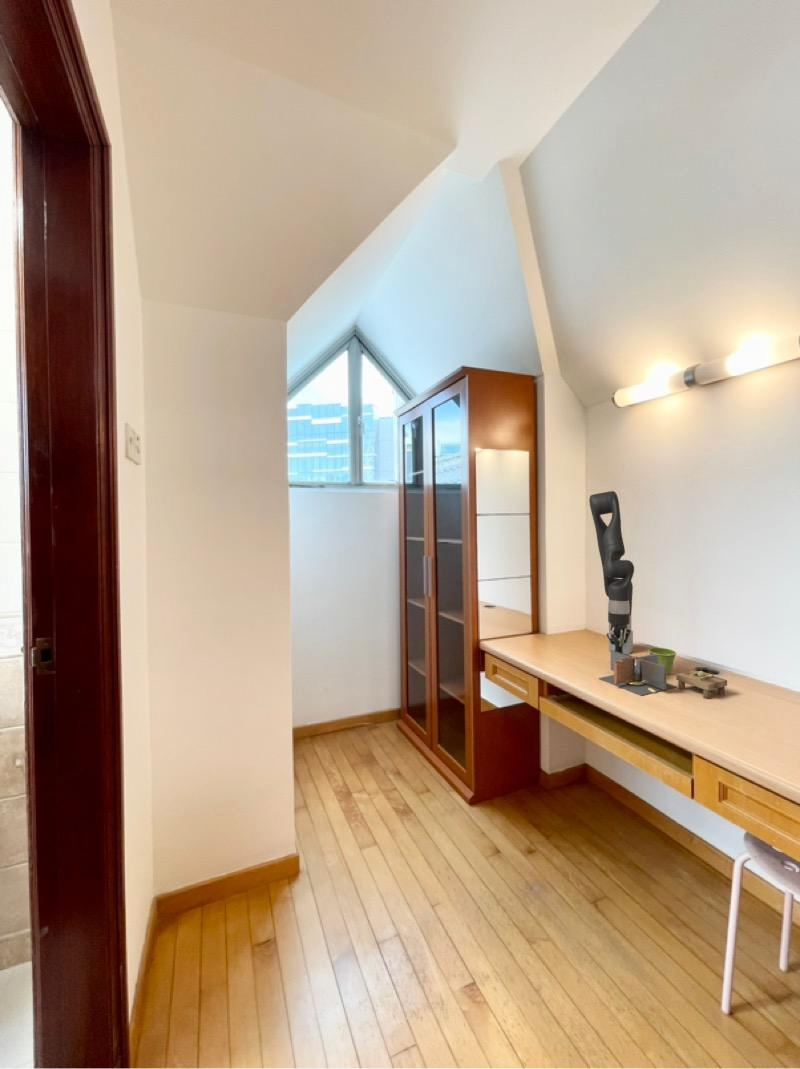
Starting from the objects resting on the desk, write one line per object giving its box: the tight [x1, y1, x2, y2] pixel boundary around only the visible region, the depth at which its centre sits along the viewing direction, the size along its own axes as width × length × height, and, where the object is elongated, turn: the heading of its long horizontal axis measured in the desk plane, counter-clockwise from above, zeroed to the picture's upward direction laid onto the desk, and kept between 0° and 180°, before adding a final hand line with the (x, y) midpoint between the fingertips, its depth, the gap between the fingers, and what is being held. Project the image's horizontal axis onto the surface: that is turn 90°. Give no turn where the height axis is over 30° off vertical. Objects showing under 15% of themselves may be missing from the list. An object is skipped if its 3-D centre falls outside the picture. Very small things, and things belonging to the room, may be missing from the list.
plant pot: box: [648, 647, 678, 676], centre depth 171 cm, size 9×9×9 cm
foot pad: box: [598, 674, 678, 697], centre depth 161 cm, size 18×19×1 cm
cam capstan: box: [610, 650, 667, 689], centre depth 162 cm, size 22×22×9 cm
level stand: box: [675, 670, 728, 700], centre depth 153 cm, size 10×11×7 cm
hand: (618, 655), depth 171 cm, fingers closed
